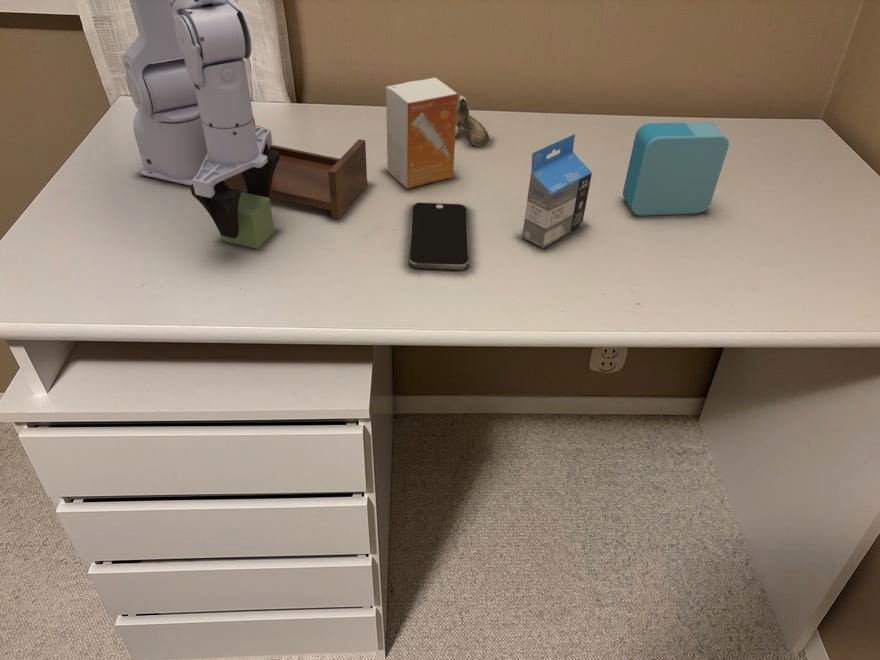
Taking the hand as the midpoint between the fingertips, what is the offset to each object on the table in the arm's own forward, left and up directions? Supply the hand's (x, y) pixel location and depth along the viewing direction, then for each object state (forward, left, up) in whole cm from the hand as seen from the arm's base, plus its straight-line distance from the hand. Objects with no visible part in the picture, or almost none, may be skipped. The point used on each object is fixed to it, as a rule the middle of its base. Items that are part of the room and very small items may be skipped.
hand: (245, 220), depth 92 cm
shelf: (0, +13, -2) cm, 13 cm away
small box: (+15, +24, -3) cm, 28 cm away
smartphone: (+23, +9, -2) cm, 25 cm away
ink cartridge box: (+37, +16, -3) cm, 40 cm away
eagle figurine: (+17, +39, -3) cm, 43 cm away
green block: (0, 0, -2) cm, 2 cm away
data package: (+51, +29, -3) cm, 59 cm away
